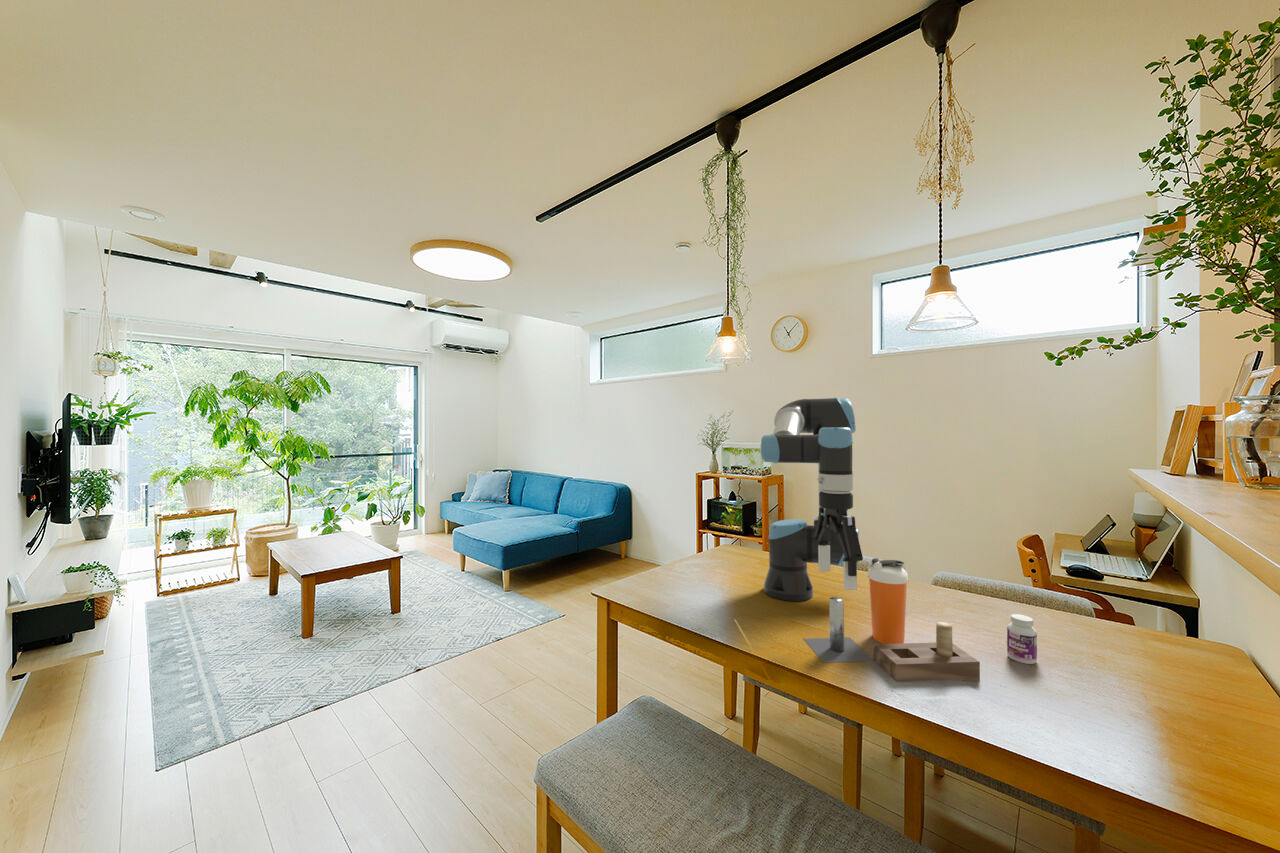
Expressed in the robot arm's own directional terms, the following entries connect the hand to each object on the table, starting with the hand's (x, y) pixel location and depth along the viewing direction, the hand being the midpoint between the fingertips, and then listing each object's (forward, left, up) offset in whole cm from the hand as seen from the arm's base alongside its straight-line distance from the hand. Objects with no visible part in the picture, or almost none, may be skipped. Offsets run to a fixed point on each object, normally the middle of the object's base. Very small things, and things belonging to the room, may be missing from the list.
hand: (836, 579), depth 113 cm
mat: (0, 0, -17) cm, 17 cm away
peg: (0, 0, -17) cm, 17 cm away
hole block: (+10, +15, -17) cm, 25 cm away
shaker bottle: (-5, +15, -17) cm, 24 cm away
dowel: (+10, +20, -17) cm, 28 cm away
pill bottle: (+6, +41, -17) cm, 44 cm away
